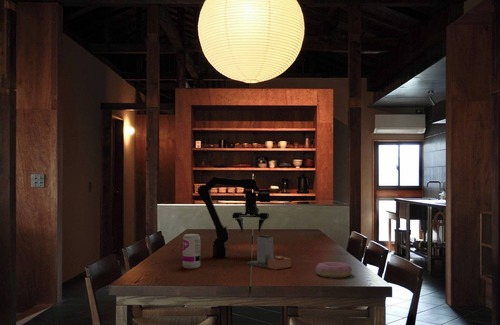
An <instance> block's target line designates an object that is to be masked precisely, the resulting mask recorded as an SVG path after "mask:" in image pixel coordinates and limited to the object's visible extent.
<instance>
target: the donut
mask: <svg viewBox="0 0 500 325" xmlns="http://www.w3.org/2000/svg"><path fill="white" fill-rule="evenodd" d="M315 272H316V274H317V275H319V276H321V277H324V278H332V279H333V278H334V279H336V278H337V279H339V278H340V279H343V278H346V277H349V276H350V275H351V274H352V267H351V266H350V265H349V264H348V263H344V262H341V261H340V262H339V261H326V262H319V263H318V264H317V265H316V267H315Z"/></svg>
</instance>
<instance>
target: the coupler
mask: <svg viewBox="0 0 500 325" xmlns="http://www.w3.org/2000/svg"><path fill="white" fill-rule="evenodd" d="M291 261H292V258H290V257H285V256H282V255H275V256H274V258H273V259H268V263H267V264H263V263H258V262H257V259H256V260H251V261H247V265H248V264H249V266H253V265H255V267H260V268H264V267H265V269H269V268H270V269H271V270H275V271H276V270H282V269H287V268H291V267H292V262H291Z"/></svg>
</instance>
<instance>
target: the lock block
mask: <svg viewBox="0 0 500 325" xmlns="http://www.w3.org/2000/svg"><path fill="white" fill-rule="evenodd" d="M268 259H274V237H273V236H272V235H266V234H259V235H258V236H257V237H256V260H257V262H258V263H263V264H267V263H268Z"/></svg>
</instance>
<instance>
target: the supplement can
mask: <svg viewBox="0 0 500 325" xmlns="http://www.w3.org/2000/svg"><path fill="white" fill-rule="evenodd" d="M182 267H183V268H184V269H197V268H199V267H201V236H200V234H199V233H198V234H197V233H186V234H184V235H183V237H182Z"/></svg>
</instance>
